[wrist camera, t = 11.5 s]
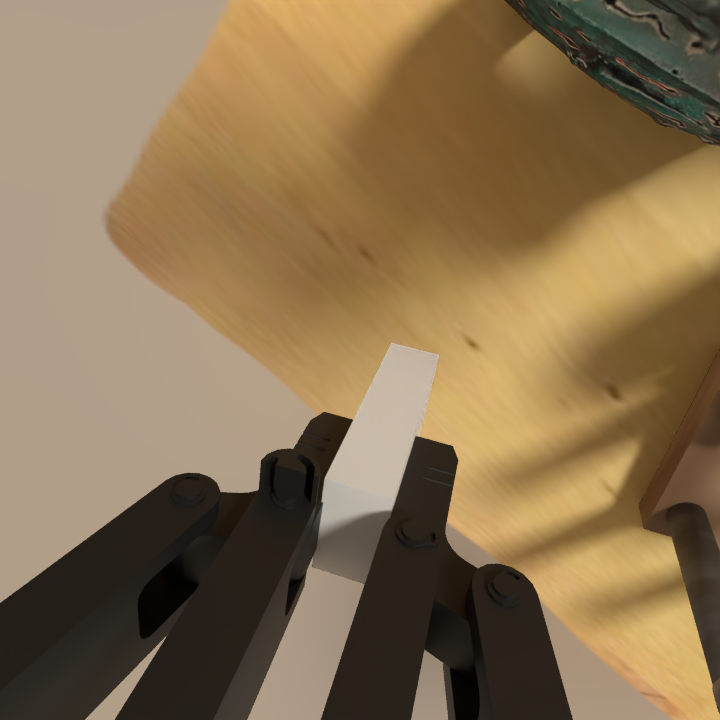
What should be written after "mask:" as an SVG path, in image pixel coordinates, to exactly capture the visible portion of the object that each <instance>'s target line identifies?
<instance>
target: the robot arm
mask: <svg viewBox="0 0 720 720" xmlns="http://www.w3.org/2000/svg"><path fill="white" fill-rule="evenodd" d="M438 359H439V355H438V354H434V353H430V352H426V351H422V350H419V349H415V348H411V347H407V346H403V345H399V344H395V343H391V345H390V347H389V349H388V351H387V353H386V355H385V357H384V359H383V361H382V363H381V365H380V367H379V369H378V371H377V373H376V375H375V377H374V379H373V381H372V383H371V385H370V387H369V389H368V391H367V393H366V395H365V397H364V400H363V402H362V404H361V406H360V408H359V410H358V412H357V414H356V416H355V418H354V420H352V419H348V418H345V417H341V416H338V415H334V414H330V413H327V412H323V413H322V414H320V415H318V416H317V417H315V418H313V419H312V420H311V421H310V422H309V424H308V426H307V427H306V429H305V430H304V432H303V435H301V437H300V439H299V440H298V443H297V444H296V445H295V447H294V449H280V450H276V451H274V452H271V453H269V454H267V455H266V456H265V457H264V458H263V459H262V460H261V468H260V470H261V471H260V482H259V490H258V491H254V492H249V493H227V492H220V489H219V487H218V485H217V483H216V482H215V481H214V480H213V479H211V478H210V477H208V476H205V475H202V474H200V473H184V474H180V475H176V476H174V477H171V478H170V479H168V480H166V481H164V482H163V483H162V484H160V485H159V486H158V487H156V488H155V489H154V490H152V491H151V492H149V493H148V494H147V495H146V496H144V497H143V498H141V499H140V500H139V501H137V502H136V503H135V504H133V505H132V506H131V507H129V508H128V509H127V510H125V511H124V512H123V513H121V514H120V515H119V516H117V517H116V518H114V519H113V520H112V521H110V522H109V523H108V524H106V525H105V526H104V527H102V528H101V529H100V530H98V531H97V532H95V533H94V534H93V535H91V536H90V537H89V538H87V539H86V540H85V541H83V542H82V543H81V544H79V545H78V546H77V547H75V548H74V549H73V550H71V551H70V552H68V553H67V554H66V555H64V556H63V557H62V558H61V559H59V560H58V561H57V562H55V563H54V564H52V565H51V566H50V567H48V568H47V569H46V570H44V571H43V572H42V573H40V574H39V575H38V576H36V577H35V578H33V579H32V580H31V581H29V582H28V583H27V584H26V585H24V586H23V587H21V588H20V589H19V590H17V591H16V592H14V593H13V594H12V595H11V596H9V597H8V598H7V599H5V600H4V601H2V602H1V603H0V720H85V719H86V718H87V717H88V716H89V714H91V713H92V712H93V711H94V709H95V708H96V707H97V706H98V705H99V704H100V703H101V702H102V701H103V700H104V699H105V698H106V697H107V696H108V695H109V694H110V693H111V692H112V691H113V690H114V689H115V688H116V687H117V686H118V685H119V684H120V683H121V682H122V681H123V680H124V679H125V678H126V677H127V676H128V675H129V674H130V673H131V671H133V669H134V668H135V667H136V666H137V665H138V664H139V663H140V662H141V661H142V660H143V659H144V658H145V657H146V656H147V655H148V654H149V653H150V652H151V651H152V650H153V649H154V648H155V647H156V646H157V645H158V644H159V643H160V642H161V641H162V640H163V639H164V637H166V636H167V637H166V639H165V640H164V642H163V644H162V645H161V646H160V648H159V650H158V651H157V653H156V655H155V656H154V658H153V659H152V661H151V662H150V664H149V666H148V667H147V669H146V670H145V672H144V674H143V675H142V677H141V678H140V680H139V682H138V683H137V685H136V687H135V688H134V690H133V691H132V693H131V694H130V696H129V698H128V699H127V701H126V702H125V704H124V706H123V707H122V709H121V711H120V712H119V714H118V715H117V717H116V718H115V720H247V719H248V716H249V714H250V712H251V709H252V707H253V705H254V702H255V700H256V698H257V695H258V693H259V691H260V688H261V686H262V683H263V681H264V679H265V677H266V674H267V672H268V670H269V667H270V665H271V663H272V660H273V658H274V656H275V653H276V651H277V649H278V646H279V644H280V642H281V639H282V637H283V635H284V632H285V630H286V628H287V625H288V623H289V620H290V618H291V616H292V614H293V611H294V609H295V607H296V604H297V602H298V599H299V597H300V595H301V592H302V590H303V588H304V585H305V578H306V572H307V568H308V566H309V564H310V562H311V559H312V557H313V562H312V567H314V568H317V569H320V570H323V571H327V572H330V573H332V574H336V575H338V576H342V577H345V578H348V579H351V580H354V581H357V582H360V583H363V584H365V585H364V588H363V591H362V595H361V597H360V600H359V604H358V607H357V610H356V613H355V616H354V619H353V622H352V625H351V628H350V631H349V634H348V638H347V641H346V644H345V647H344V650H343V653H342V656H341V659H340V662H339V665H338V669H337V671H336V674H335V678H334V681H333V684H332V687H331V690H330V693H329V696H328V699H327V702H326V705H325V708H324V711H323V715H322V718H321V720H411V716H412V711H413V705H414V701H415V695H416V690H417V685H418V680H419V674H420V669H421V664H422V659H423V653H424V649H425V650H426V651H427V652H429V653H430V654H432V655H433V656H435V657H436V658H437V659H439V660H440V661H442V662H443V663H444V664H443V671H444V681H445V691H446V700H447V710H448V720H573V719H572V715H571V711H570V708H569V704H568V701H567V697H566V694H565V690H564V686H563V683H562V679H561V676H560V672H559V669H558V665H557V661H556V658H555V654H554V651H553V647H552V644H551V640H550V636H549V633H548V629H547V626H546V622H545V619H544V615H543V612H542V608H541V604H540V601H539V597H538V594H537V592H536V590H535V588H534V586H533V584H532V583H531V582H530V581H529V580H528V579H527V578H526V577H525V576H524V574H522V573H520V572H519V571H517V570H515V569H514V568H512V567H509V566H506V565H502V564H487V565H484V566H482V567H480V568H476V567H475V566H473V565H471V564H470V563H468V562H467V561H465V560H464V559H462V558H461V557H459V556H458V555H457V554H456V552H455V551H454V550H453V549H452V548H451V546H450V544H449V543H448V541H447V538H446V535H445V527H446V522H447V517H448V511H449V506H450V501H451V495H452V490H453V485H454V480H455V474H456V469H457V464H458V458H457V456H456V453H455V451H454V448H453V446H451V445H447V444H443V443H440V442H436V441H433V440H429V439H425V438H422V437H419V436H420V432H421V429H422V425H423V421H424V417H425V413H426V409H427V405H428V401H429V396H430V392H431V388H432V384H433V380H434V376H435V372H436V368H437V364H438Z"/></svg>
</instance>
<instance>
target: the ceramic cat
mask: <svg viewBox="0 0 720 720" xmlns="http://www.w3.org/2000/svg"><path fill="white" fill-rule="evenodd" d="M505 1H506V2H507V3H508V4H509V5H510V6H511V7H512V8H513V9H514V10H515V11H516V12H517V13H518V14H519V15H520V16H521V17H522V18H523V19H524V20H525V21H526V22H527V23H529V24H530V25H531V26H532V27H533V28H534V29H535V30H537V31H538V32H539V33H540V34H541V35H542V36H544V37H545V38H546V39H547V40H549V41H550V42H551V43H552V44H554V45H555V46H556V47H557V48H559V49H560V50H561V51H562V52H563V53H565V54H566V55H567V56H568V57H569V59H570V61H571V63H572V64H573V65H576V66H577V67H578V68H580V69H581V70H582V71H583V72H584V73H586V74H587V75H588V76H590V77H591V78H593V79H594V80H596V81H597V82H598V83H599V84H600V85H601V86H602V87H604V88H606V89H607V90H609V91H611V92H613V93H615V94H616V95H617V96H619V97H620V98H622V99H623V100H624V101H626V102H627V103H629V104H630V105H632V106H634V107H636V108H638V109H640V110H641V111H643V112H644V113H646V114H647V115H649V116H650V117H652V119H653V120H654V121H655V122H657V123H658V124H660V125H662V126H664V127H673V128H676V129H678V130H679V131H682V132H685V133H688V134H693V135H696V136H698V137H699V138H700V139H701V140H702V141H703V142H704V143H708V144H712V145H718V146H720V0H505Z"/></svg>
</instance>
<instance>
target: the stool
mask: <svg viewBox="0 0 720 720" xmlns="http://www.w3.org/2000/svg"><path fill="white" fill-rule="evenodd" d="M639 509H640V513H641V518H642V522H643V526H644V529H646V530H650V531H653V532H657V533H660V534H664V535H667V536H671V537H672V540H673V543H674V547H675V551H676V554H677V558H678V561H679V565H680V569H681V572H682V576H683V579H684V583H685V587H686V590H687V594H688V597H689V601H690V605H691V608H692V612H693V615H694V619H695V623H696V626H697V630H698V633H699V637H700V640H701V644H702V648H703V651H704V655H705V658H706V662H707V666H708V669H709V673H710V676H711V680H712V684H713V688H712V689H713V694H714V697H715V701H716V705H717V708H718V712H719V713H720V350H719V352H718V354H717V356H716V358H715V360H714V362H713V364H712V366H711V367H710V369H709V371H708V373H707V375H706V377H705V379H704V381H703V383H702V385H701V387H700V389H699V391H698V393H697V395H696V396H695V398H694V400H693V402H692V404H691V406H690V408H689V410H688V412H687V414H686V416H685V418H684V420H683V422H682V423H681V425H680V427H679V429H678V431H677V433H676V435H675V437H674V439H673V441H672V443H671V445H670V447H669V449H668V450H667V452H666V454H665V456H664V458H663V460H662V462H661V464H660V466H659V468H658V470H657V472H656V474H655V476H654V477H653V479H652V481H651V483H650V485H649V487H648V489H647V491H646V493H645V495H644V497H643V499H642V501H641V503H640V505H639Z"/></svg>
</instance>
